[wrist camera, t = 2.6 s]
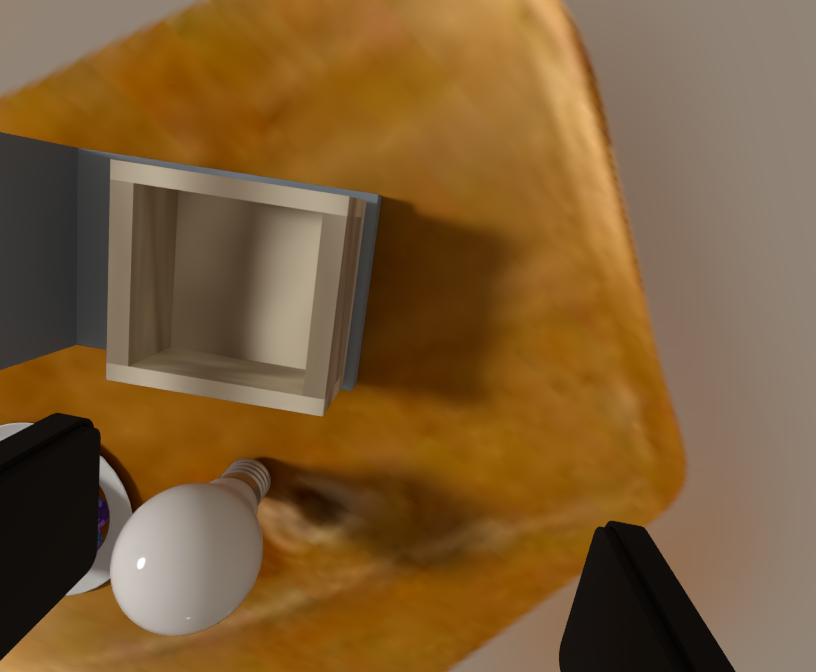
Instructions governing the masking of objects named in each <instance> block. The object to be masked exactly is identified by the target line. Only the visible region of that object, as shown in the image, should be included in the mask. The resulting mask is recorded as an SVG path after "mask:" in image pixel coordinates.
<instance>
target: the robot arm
mask: <svg viewBox="0 0 816 672" xmlns="http://www.w3.org/2000/svg"><path fill="white" fill-rule="evenodd" d="M100 439H101V437H100V432H99V430H98V429H97V428H94V425H93V423H92V421H91V420H90V419H87V418H82V417H77V416H72V415H67V414H61V413H55V414H52V415H50V416H48V417H46V418H44V419H42V420H40V421H38V422H36V423H34V424H32V425H30V426H28V427H26V428H25V429H23V430H21V431H19V432H17V433H15V434H13V435H11V436H9V437H7V438H5V439H3V440H1V441H0V661H1V660H2V659H3V658H4V657H5V656H6V655H7V654H8V653H9V652H10V650H11V649H12V648H13V647H14V646H15V645H16V644H17V643H18V642H19V641H20V640H21V639H22V638H23V637H24V636H25V635H26V634H27V633H28V632H29V631H30V630H31V629H32V628H33V627H34V626H35V625H36V624H37V623H38V622H39V621H40V620H41V619H42V618H43V617H44V616H45V615H46V614H47V613H48V612H49V611H50V610H51V609H52V608H53V607H54V606H55V605H56V604H57V603H58V602H59V601H60V600H61V599H62V598H63V597H64V596H65V595H66V594H67V593H68V592H69V591H70V590H71V589H72V588H73V587H74V586H75V585H76V584H77V583H78V582H79V581H80V580H81V579H82V578H83V577H84V576H85V575H86V574H87V573H88V571H89V570H90V569H91V567H92V565H93V563H94V561H95V559H96V555H97V547H98V511H99V475H100ZM559 665H560V671H561V672H735V670H734V668H733V667H732V665H731V664H730V662H729V661H728V659H727V657H726V656H725V654H724V653H723V651H722V649H721V648H720V646H719V645H718V643H717V641H716V640H715V638H714V637H713V635H712V634H711V632H710V631H709V629H708V627H707V626H706V624H705V622H704V621H703V619H702V618H701V616H700V614H699V613H698V611H697V610H696V608H695V607H694V605H693V603H692V602H691V600H690V599H689V597H688V595H687V594H686V592H685V591H684V589H683V587H682V586H681V584H680V583H679V581H678V580H677V578H676V576H675V575H674V573H673V572H672V570H671V569H670V567H669V565H668V564H667V562H666V560H665V559H664V557H663V556H662V554H661V553H660V551H659V549H658V548H657V546H656V545H655V543H654V541H653V540H652V538H651V537H650V535H649V534H648V532H647V530H646V529H645V528H644V527H641V526H637V525H632V524H626V523H621V522H616V521H609V522H608V523H607V524H606V526H605V527H597V529H596V530H595V532H594V535H593V538H592V542H591V545H590V548H589V552H588V555H587V558H586V562H585V565H584V568H583V572H582V575H581V578H580V582H579V585H578V588H577V591H576V595H575V598H574V602H573V605H572V608H571V612H570V615H569V618H568V621H567V625H566V628H565V632H564V635H563V638H562V641H561V645H560V651H559Z"/></svg>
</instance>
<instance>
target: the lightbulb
mask: <svg viewBox="0 0 816 672" xmlns="http://www.w3.org/2000/svg"><path fill="white" fill-rule="evenodd" d="M270 485H271V477H270V474H269V471H268V470H267V468H266V467H265V466H264V465H263V464H262V463H261V462H259V461H257V460H255V459H251V458H242V459H239V460H236V461H235V462H233V463H232V464H231V465H230V466H229V468H228V469H227V470H226V471H225V472H224V473H223V474H222V476H221V477H220V478H219V479H216V480H213V481H211V482H209V483H188V484H182V485H178V486H175V487H172V488H169V489H167V490H164V491H162V492H160V493H158V494H157V495H155V496H153V497H152V498H150V499H149V500H148V501H146V502H145V503H144V504H143V505H141V506H140V507H139V508H138V509H137V510H136V511H135V512H134V513H133V514H132V516H131V517H130V518H129V519H128V521H127V522H126V523H125V525H124V527H123V528H122V530H121V532H120V533H119V536H118V538H117V540H116V542H115V545H114V548H113V552H112V557H111V563H110V579H111V586H112V590H113V593H114V596H115V599H116V601H117V603H118V605H119V606H120V608H121V609H122V611H123V612H124V613H125V614H126V616H127V617H128V618H129V619H130V620H132V621H133V622H134V623H135V624H137V625H138V626H140V627H141V628H143V629H145V630H147V631H150V632H153V633H156V634H160V635H166V636H183V635H190V634H194V633H198V632H201V631H203V630H206V629H208V628H210V627H212V626H214V625H216V624H218V623H219V622H221V621H222V620H224V619H225V618H227V617H228V616H229V615H230V614H231V613H233V612H234V611H235V610H236V609H237V608H238V607H239V606H240V604H241V603H242V602H243V601H244V600H245V598H246V597H247V595H248V594H249V592H250V591H251V589H252V587H253V585H254V583H255V581H256V579H257V576H258V574H259V570H260V567H261V562H262V556H263V539H262V532H261V528H260V525H259V522H258V519H257V513H258V505H259V504H260V502H261V501H262V499H263V498H264V496H265V495H266V493H267V492H268V490H269V488H270Z"/></svg>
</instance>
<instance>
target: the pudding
mask: <svg viewBox="0 0 816 672" xmlns="http://www.w3.org/2000/svg"><path fill="white" fill-rule="evenodd" d="M32 424H34V423H10V424H6V425H2V426H0V441H1V440H3V439H5V438H7V437H9V436H11V435H13V434H15V433H17V432H19V431H21V430H23V429H25V428H26V427H28V426H30V425H32ZM99 485H100V486H101V488H102V490H103V492H104V494H105V497H106V499H107V502H108V507H109V511H110V524H109V530H108V534H107V536H106V539H105V541H104V543H103V544H102V546H101V547H100V545H101V543H102V541H103V538H102V535H101V531H100V528H101V527H103V526H104V525H105V524H106V523H107V522H108V514H109V511H108V508H107V505H106V503H105V501H104V500H103V499H101V498H100V497H99V511H98V547H97V549H99V547H100V549H99V550H98V551H97V555H96V559H95V561H94V563H93V565H92V567H91V569H90V570H89V571H88V573H87V574H86V575H85V576H84V577H83V578H82V579H81V580H80V581H79V582H78V583H77V584H76V585H75V586H74V587H73V588H72V589H71V590H70V591H69V592H68V593H67V594H66V595H74V594H79V593H84V592H87V591H89V590H92V589H94V588H97V587H98V586H100V585H102V584H103V583H105V582H106V581H108V580H109V579H110V563H111V557H112V552H113V548H114V545H115V542H116V540H117V538H118V536H119V533H120V532H121V530H122V528H123V527H124V525H125V523H126V522H127V521H128V519H129V518H130V517H131V516H132V510H131V505H130V501H129V498H128V496H127V493H126V491H125V488H124V486H123V484H122V483H121V481H120V479H119V478H118V476H117V474H116V473H115V471H114V470H113V469H112V468H111V466H110V465H109V464H108V463H107V462H106V460H105V459H104V458H103V457H102V456H100V475H99Z"/></svg>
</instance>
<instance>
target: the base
mask: <svg viewBox="0 0 816 672" xmlns="http://www.w3.org/2000/svg"><path fill="white" fill-rule="evenodd" d="M110 159H113V160H119V161H126V162H132V163H138V164H145V165H151V166H158V167H164V168H171V169H177V170H183V171H190V172H196V173H203V174H209V175H216V176H222V177H229V178H235V179H241V180H248V181H254V182H261V183H267V184H274V185H280V186H287V187H293V188H299V189H306V190H312V191H319V192H325V193H332V194H338V195H344V196H350V197H354V198H358V199H361V200H365V201H366V209H365V217H364V225H363V232H362V240H361V248H360V255H359V263H358V271H357V279H356V286H355V294H354V302H353V310H352V317H351V325H350V333H349V340H348V348H347V356H346V364H345V371H344V379H343V385H342V386H341V388H340V389H344V390H350V391H352V390H353V388H354V386H355V385H356V383H357V376H358V369H359V361H360V354H361V347H362V339H363V332H364V325H365V317H366V310H367V302H368V295H369V288H370V280H371V273H372V266H373V258H374V251H375V243H376V236H377V229H378V221H379V214H380V207H381V199H382V196H381V195H378V194H372V193H365V192H359V191H352V190H346V189H339V188H333V187H326V186H320V185H314V184H307V183H301V182H294V181H288V180H281V179H275V178H268V177H262V176H255V175H249V174H243V173H236V172H230V171H223V170H217V169H210V168H204V167H197V166H191V165H184V164H178V163H171V162H165V161H159V160H152V159H146V158H139V157H133V156H126V155H120V154H113V153H107V152H100V151H94V150H88V149H81V148H75V147H70V146H66V145H61V144H56V143H51V142H46V141H41V140H36V139H31V138H26V137H21V136H16V135H11V134H6V133H1V132H0V370H2V369H5V368H8V367H11V366H14V365H17V364H20V363H23V362H26V361H29V360H32V359H35V358H38V357H41V356H44V355H47V354H50V353H53V352H56V351H59V350H62V349H65V348H68V347H71V346H74V345H82V346H88V347H94V348H100V349H106V350H107V310H108V260H109V209H110Z"/></svg>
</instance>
